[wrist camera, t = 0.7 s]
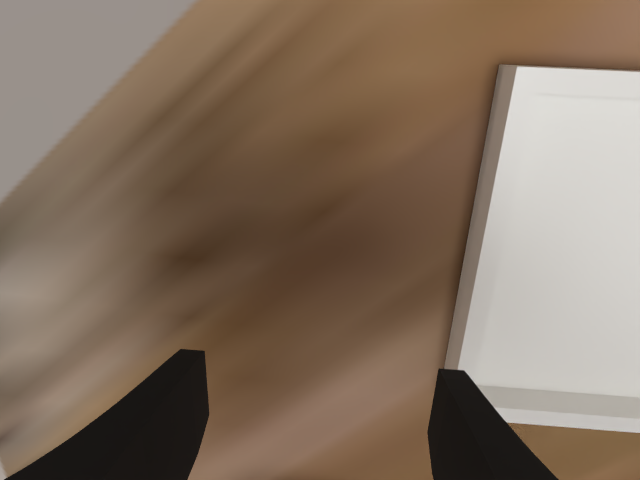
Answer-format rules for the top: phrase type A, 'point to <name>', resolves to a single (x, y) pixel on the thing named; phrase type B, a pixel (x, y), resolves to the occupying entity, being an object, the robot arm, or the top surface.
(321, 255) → the top surface
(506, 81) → the tray
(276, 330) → the top surface
